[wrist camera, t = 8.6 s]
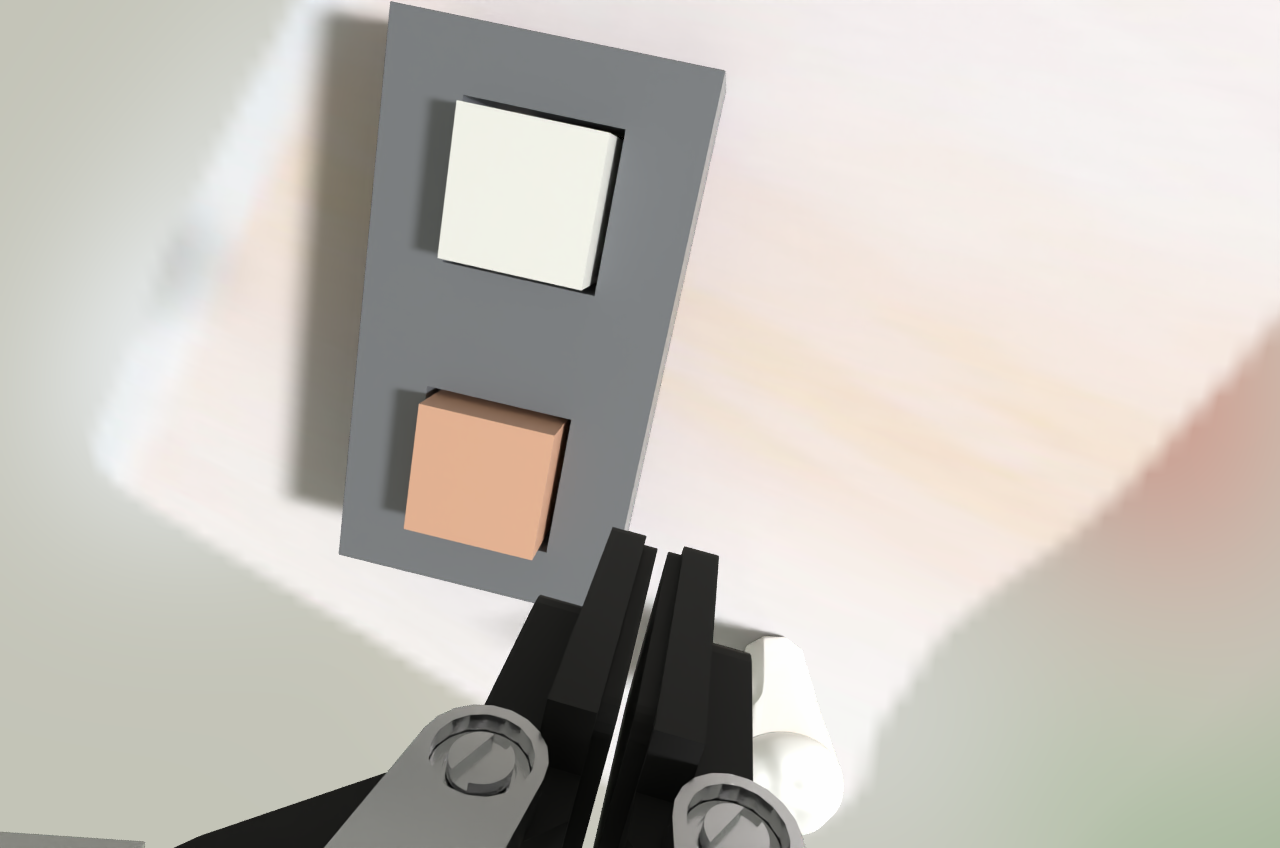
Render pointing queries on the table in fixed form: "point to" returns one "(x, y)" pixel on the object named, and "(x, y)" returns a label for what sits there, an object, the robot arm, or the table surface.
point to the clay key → (485, 473)
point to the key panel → (521, 289)
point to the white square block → (528, 195)
